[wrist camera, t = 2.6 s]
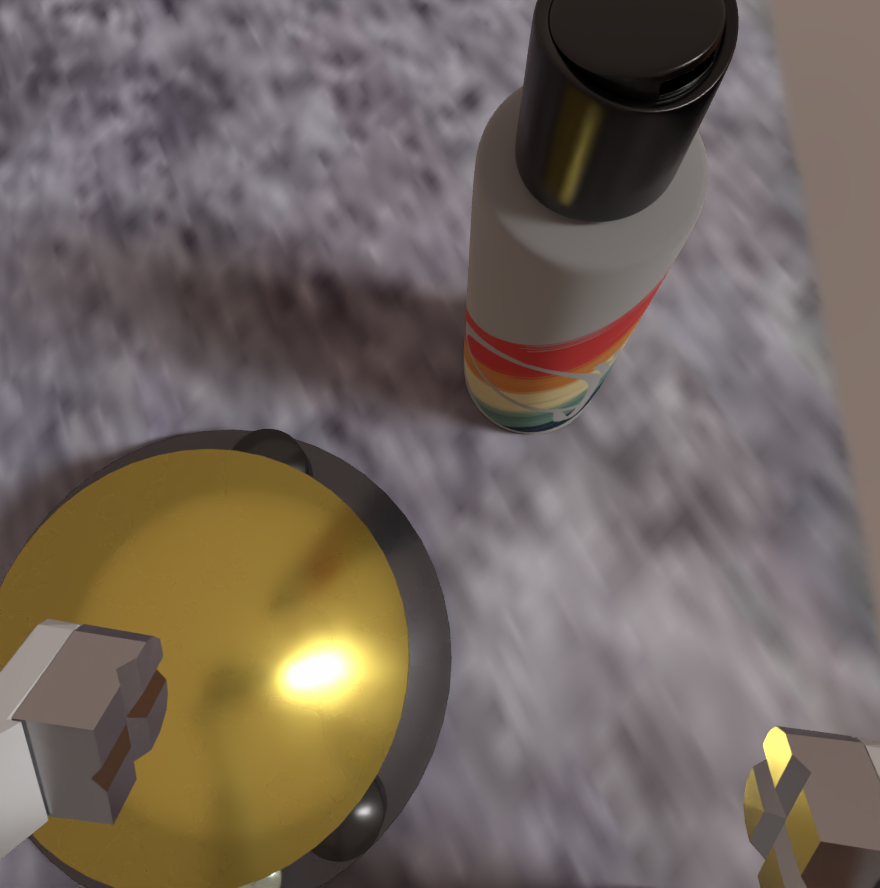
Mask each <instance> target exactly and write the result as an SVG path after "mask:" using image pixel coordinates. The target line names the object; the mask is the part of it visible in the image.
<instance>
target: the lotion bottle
mask: <svg viewBox="0 0 880 888" xmlns="http://www.w3.org/2000/svg"><path fill="white" fill-rule="evenodd" d="M737 36H738V8H737V3H736V0H537V2H536V6H535V10H534V14H533V20H532V27H531V34H530V41H529V48H528V55H527V62H526V69H525V76H524V84H523V86H522V87H521V88H519V89H518V90H516V91H515V92H514V93H512V94H511V95H510V96H509V97H508V98H507V99H506V100H505V101H504V102H503V103H502V104H501V105H500V106H499V107H498V108H497V110H496V111H495V112H494V114H493V115H492V117H491V118H490V120H489V122H488V124H487V126H486V128H485V130H484V132H483V135H482V138H481V140H480V143H479V147H478V151H477V155H476V163H475V171H474V182H473V197H472V213H471V231H470V249H469V267H468V286H467V304H466V322H465V340H464V376H465V381H466V386H467V389H468V392H469V394H470V396H471V398H472V400H473V402H474V403H475V405H476V406H477V407H478V409H479V410H480V411H481V412H482V413H483V414H484V415H485V416H486V417H487V418H488V419H489V420H491V421H492V422H493V423H495V424H496V425H498V426H500V427H502V428H504V429H507V430H509V431H513V432H517V433H522V434H542V433H547V432H551V431H554V430H557V429H560V428H562V427H564V426H566V425H567V424H569V423H570V422H572V421H573V420H574V419H576V418H577V417H578V416H579V415H580V414H581V413H582V412H583V411H584V410H585V409H586V407H587V406H588V405H589V403H590V402H591V400H592V399H593V397H594V396H595V394H596V393H597V391H598V389H599V388H600V386H601V384H602V383H603V381H604V379H605V378H606V376H607V374H608V373H609V371H610V369H611V368H612V366H613V364H614V362H615V361H616V359H617V357H618V356H619V354H620V352H621V351H622V349H623V347H624V346H625V344H626V342H627V340H628V339H629V337H630V335H631V334H632V332H633V330H634V329H635V327H636V325H637V324H638V322H639V320H640V318H641V317H642V315H643V313H644V312H645V310H646V308H647V307H648V305H649V303H650V302H651V300H652V298H653V296H654V295H655V293H656V291H657V290H658V288H659V286H660V285H661V283H662V281H663V280H664V278H665V276H666V274H667V273H668V271H669V269H670V268H671V266H672V264H673V263H674V261H675V259H676V257H677V256H678V254H679V252H680V250H681V249H682V247H683V245H684V243H685V242H686V240H687V238H688V236H689V234H690V233H691V231H692V229H693V227H694V225H695V223H696V221H697V219H698V217H699V215H700V212H701V210H702V207H703V204H704V200H705V196H706V192H707V185H708V162H707V156H706V151H705V148H704V145H703V142H702V139H701V137H700V134H699V132H698V131H697V130H698V128H699V126H700V124H701V122H702V120H703V118H704V116H705V114H706V112H707V110H708V108H709V106H710V104H711V102H712V100H713V98H714V96H715V94H716V92H717V90H718V88H719V86H720V84H721V82H722V79H723V77H724V75H725V73H726V71H727V69H728V66H729V64H730V62H731V59H732V56H733V53H734V50H735V47H736V42H737Z"/></svg>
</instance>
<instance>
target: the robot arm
mask: <svg viewBox="0 0 880 888" xmlns="http://www.w3.org/2000/svg"><path fill="white" fill-rule="evenodd" d="M162 658H163V651H162V646H161V640H160V638H157V637H155V636H151V635H145V634H139V633H133V632H127V631H122V630H116V629H110V628H104V627H99V626H93V625H87V624H78V623H72V622H66V621H60V620H54V619H47V620H45V621H43V622H42V623H40V624H38V625H37V626H36V627H35V628H34V629H33V631H32V632H31V633H30V635H29V636H28V637H27V638H26V640H25V641H24V642H23V643H22V645H21V646H20V647H19V649H18V650H17V651H16V652H15V654H14V655H13V656H12V658H11V659H10V660H9V661H8V663H7V664H6V665H5V667H4V668H3V669H2V670H1V672H0V859H2V858H3V857H4V856H5V855H7V854H8V853H9V852H10V851H11V850H13V849H14V848H15V847H16V846H18V845H19V844H20V843H21V842H23V841H24V840H25V839H26V838H27V837H29V836H30V835H31V834H32V833H34V832H35V831H36V830H37V829H39V828H40V827H41V826H42V825H43V824H45V823H46V822H47V821H48V816H49V817H57V818H64V819H72V820H80V821H88V822H96V823H103V824H111V825H114V823H115V821H116V819H117V817H118V815H119V813H120V811H121V809H122V807H123V805H124V803H125V801H126V799H127V797H128V795H129V793H130V791H131V789H132V787H133V786H134V784H135V782H136V780H137V778H136V771H135V765H134V761H136V760H137V759H139V758H140V757H142V756H143V755H145V754H146V753H148V752H149V751H150V750H152V748H153V746H154V743H155V741H156V739H157V737H158V735H159V733H160V731H161V727H162V724H163V720H164V717H165V713H166V710H167V699H168V688H167V680H166V679H165V678H164V676H163V675H162V674H161V673H160V672H159V671H158V670H157V667H158V665H159V663H160V662H161V660H162ZM763 747H764V751H765V755H766V758H767V759H766V760H764V761H762V762H760V763H759V764H757V765H755V766H753V767H752V770H751V772H750V775H749V777H748V780H747V782H746V786H745V796H744V815H745V824H746V828H747V833H748V837H749V842H750V843H751V844H752V845H753V846H754V847H755V848H756V850H757V851H758V852H759V853H760V854H761V855H762V856H763V858H764V859H765V862H764V864H763V866H762V868H761V870H760V872H759V874H758V879H759V883H760V887H761V888H880V740H872V739H865V738H858V737H855V738H853V737H851V736H847V735H839V734H832V733H824V732H817V731H810V730H802V729H795V728H787V727H780V726H776V727H774V728H773V729H772V730H770V731H769V732H768V735H767V737H766V739H765V741H764V743H763Z"/></svg>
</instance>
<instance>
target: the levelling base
mask: <svg viewBox="0 0 880 888" xmlns="http://www.w3.org/2000/svg"><path fill="white" fill-rule="evenodd" d="M47 619H54V620H60V621H66V622H72V623H78V624H87V625H93V626H99V627H104V628H110V629H116V630H122V631H127V632H133V633H139V634H145V635H151V636H155V637H157V638H160V640H161V646H162V651H163V658H162V660H161V662H160V663H159V665H158V667H157V670H158V671H159V672H160V673H161V674H162V675H163V676H164V678H165V679H166V680H167V688H168V699H167V710H166V713H165V717H164V720H163V724H162V727H161V731H160V733H159V735H158V737H157V739H156V741H155V743H154V746H153V748H152V750H150V751H149V752H148V753H146V754H145V755H143V756H142V757H140V758H139V759H137V760H136V761H134V765H135V771H136V778H137V780H136V782H135V784H134V786H133V787H132V789H131V791H130V793H129V795H128V797H127V799H126V801H125V803H124V805H123V807H122V809H121V811H120V813H119V815H118V817H117V819H116V821H115V823H114V825H111V824H103V823H96V822H88V821H80V820H72V819H64V818H57V817H49V816H48V821H47V822H46V823H45V824H43V825H42V826H41V827H40V828H39V829H37V830H36V831H35V832H34V833H32V834H31V835H30V836H29V838H30V839H31V840H32V842H33V843H34V844H35V845H36V846H37V847H38V848H39V849H40V850H41V851H42V853H43V854H44V855H45V856H46V857H47V858H48V859H49V860H50V861H51V862H52V863H53V864H55V865H56V866H57V867H58V868H59V869H61V870H62V871H63V872H64V873H66V874H67V875H68V876H69V877H70V878H72V879H73V880H74V881H76V882H77V883H79V884H81V885H82V886H84V887H86V888H317V887H319V886H321V885H323V884H325V883H326V882H328V881H329V880H330V879H332V878H333V877H335V876H336V875H337V874H339V873H340V872H342V871H343V870H344V869H346V868H347V867H349V866H350V865H351V864H353V863H354V862H355V861H356V860H357V859H358V858H359V857H360V856H362V855H363V854H364V853H365V852H366V851H367V850H368V849H369V848H370V847H371V846H372V845H373V844H374V843H375V842H377V841H378V840H379V838H380V837H381V836H382V835H383V834H384V832H385V831H386V830H387V829H388V828H389V826H390V825H391V824H392V823H393V822H394V820H395V819H396V818H397V817H398V816H399V814H400V813H401V811H402V810H403V808H404V807H405V805H406V804H407V802H408V800H409V799H410V797H411V796H412V794H413V792H414V791H415V789H416V788H417V786H418V785H419V782H420V780H421V778H422V776H423V774H424V772H425V770H426V768H427V765H428V763H429V761H430V759H431V757H432V755H433V752H434V749H435V746H436V743H437V740H438V737H439V734H440V731H441V728H442V724H443V721H444V715H445V710H446V705H447V700H448V695H449V688H450V672H451V643H450V627H449V621H448V616H447V611H446V606H445V601H444V596H443V593H442V590H441V586H440V583H439V580H438V577H437V574H436V571H435V568H434V566H433V564H432V562H431V560H430V557H429V555H428V553H427V551H426V549H425V547H424V545H423V543H422V541H421V539H420V538H419V536H418V535H417V533H416V532H415V530H414V528H413V527H412V525H411V524H410V522H409V521H408V519H407V518H406V516H405V515H404V514H403V513H402V511H401V510H400V509H399V508H398V507H397V506H396V504H395V503H394V502H393V501H392V500H391V499H390V498H389V496H388V495H387V494H386V493H385V492H384V491H383V490H381V489H380V488H379V487H378V486H377V485H376V484H375V483H374V482H372V481H371V480H370V479H369V478H368V477H367V476H366V475H365V474H363V473H362V472H360V471H359V470H357V469H356V468H354V467H353V466H351V465H350V464H348V463H347V462H345V461H344V460H342V459H341V458H339V457H336V456H334V455H332V454H330V453H328V452H326V451H324V450H322V449H320V448H318V447H316V446H314V445H311V444H308V443H305V442H302V441H299V440H296V439H293V438H292V437H291V436H290V435H288V434H286V433H284V432H282V431H279V430H275V429H261V430H257V431H244V430H220V431H204V432H199V433H193V434H188V435H183V436H177V437H173V438H170V439H167V440H164V441H161V442H158V443H154V444H151V445H148V446H146V447H143V448H141V449H139V450H137V451H135V452H132V453H130V454H128V455H126V456H124V457H122V458H120V459H118V460H116V461H115V462H113V463H111V464H110V465H108V466H106V467H105V468H103V469H101V470H100V471H98V472H97V473H95V474H94V475H92V476H91V477H90V478H88V479H87V480H86V481H85V482H83V483H82V484H81V485H79V486H78V487H77V488H76V489H74V490H73V491H72V492H71V493H69V494H68V495H67V496H66V497H65V498H64V499H63V500H62V501H61V502H60V503H59V504H58V505H57V506H56V507H55V508H54V509H53V510H52V511H51V512H50V513H49V514H48V516H47V517H46V518H45V519H44V521H43V522H42V523H41V524H40V526H39V527H38V528H37V529H36V531H35V532H34V533H33V534H32V536H31V537H30V538H29V539H28V541H27V543H26V544H25V546H24V547H23V549H22V551H21V552H20V554H19V555H18V557H17V559H16V560H15V562H14V563H13V565H12V567H11V568H10V570H9V571H8V573H7V575H6V577H5V579H4V581H3V583H2V585H1V587H0V672H1V670H2V669H3V668H4V667H5V665H6V664H7V663H8V661H9V660H10V659H11V658H12V656H13V655H14V654H15V652H16V651H17V650H18V649H19V647H20V646H21V645H22V643H23V642H24V641H25V640H26V638H27V637H28V636H29V635H30V633H31V632H32V631H33V629H34V628H35V627H36V626H37V625H38V624H40V623H42V622H43V621H45V620H47Z"/></svg>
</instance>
